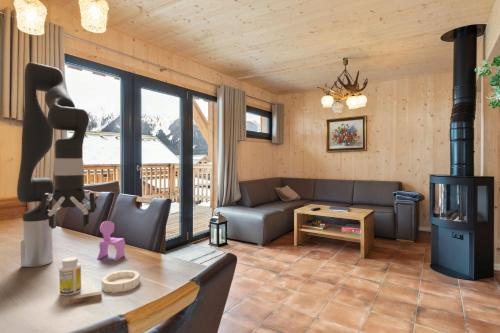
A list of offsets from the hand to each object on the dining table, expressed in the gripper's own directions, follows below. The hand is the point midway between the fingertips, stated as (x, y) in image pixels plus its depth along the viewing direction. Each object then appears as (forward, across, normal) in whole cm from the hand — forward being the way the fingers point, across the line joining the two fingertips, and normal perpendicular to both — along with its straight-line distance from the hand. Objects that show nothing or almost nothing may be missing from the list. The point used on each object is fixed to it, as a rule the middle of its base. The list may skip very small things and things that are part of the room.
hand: (70, 227), depth 88 cm
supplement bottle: (+20, 0, 0) cm, 20 cm away
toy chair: (+20, +6, +31) cm, 37 cm away
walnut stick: (+20, +6, -7) cm, 22 cm away
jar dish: (+20, +14, +2) cm, 24 cm away
